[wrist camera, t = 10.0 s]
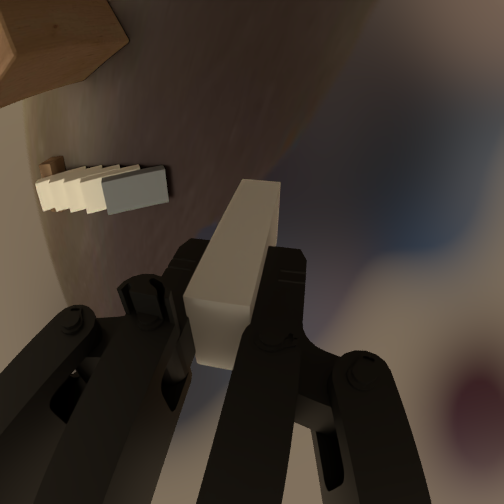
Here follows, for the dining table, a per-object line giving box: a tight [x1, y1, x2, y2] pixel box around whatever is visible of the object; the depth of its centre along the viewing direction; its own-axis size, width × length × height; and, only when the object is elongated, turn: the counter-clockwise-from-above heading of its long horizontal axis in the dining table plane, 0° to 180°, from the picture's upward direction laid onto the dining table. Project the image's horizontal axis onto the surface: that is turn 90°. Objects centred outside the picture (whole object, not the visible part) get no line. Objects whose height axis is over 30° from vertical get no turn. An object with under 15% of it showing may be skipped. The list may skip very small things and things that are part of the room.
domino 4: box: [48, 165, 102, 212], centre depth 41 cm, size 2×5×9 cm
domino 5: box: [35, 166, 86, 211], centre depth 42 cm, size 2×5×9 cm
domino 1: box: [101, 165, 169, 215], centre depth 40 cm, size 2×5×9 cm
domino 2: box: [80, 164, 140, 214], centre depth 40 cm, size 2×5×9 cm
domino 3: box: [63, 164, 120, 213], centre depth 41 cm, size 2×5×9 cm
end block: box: [39, 156, 66, 212], centre depth 43 cm, size 3×9×4 cm, turn 179°
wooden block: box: [0, 0, 129, 108], centre depth 22 cm, size 10×10×20 cm
